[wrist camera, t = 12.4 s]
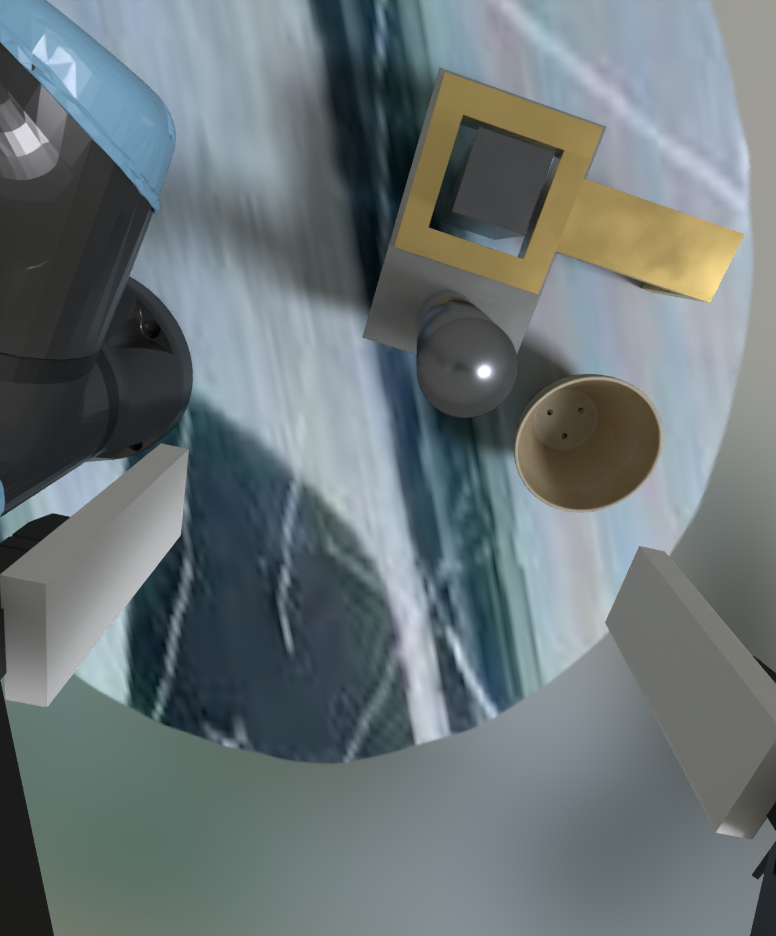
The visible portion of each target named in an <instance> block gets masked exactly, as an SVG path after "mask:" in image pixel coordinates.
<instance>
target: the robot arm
mask: <svg viewBox="0 0 776 936" xmlns="http://www.w3.org/2000/svg"><path fill="white" fill-rule="evenodd" d="M175 141H176V132H175V126H174V123H173V120H172V117H171V114H170V112H169V111H168V109H167V107H166V105H165V104H164V102H163V101H162V100H161V98H160V97H159V96H158V95H157V94H156V93H155V92H154V91H153V90H152V89H151V88H150V87H149V86H148V85H147V84H146V83H145V82H144V81H143V80H142V79H140V78H139V77H138V76H137V75H136V74H135V73H134V72H133V71H131V70H130V69H129V68H128V67H127V66H126V65H124V64H123V63H122V62H121V61H120V60H119V59H117V58H116V57H115V56H114V55H113V54H112V53H110V52H109V51H108V50H107V49H106V48H104V47H103V46H102V45H101V44H100V43H98V42H97V41H96V40H95V39H94V38H92V37H91V36H90V35H89V34H87V33H86V32H85V31H84V30H83V29H81V28H80V27H79V26H78V25H76V24H75V23H74V22H73V21H71V20H70V19H69V18H68V17H66V16H65V15H64V14H63V13H61V12H60V11H59V10H58V9H56V8H55V7H54V6H53V5H51V4H50V3H49V2H48V1H46V0H0V517H2V516H3V515H5V514H6V513H8V512H9V511H11V510H12V509H14V508H16V507H17V506H19V505H20V504H22V503H23V502H25V501H26V500H28V499H29V498H31V497H32V496H34V495H36V494H37V493H39V492H40V491H42V490H43V489H45V488H46V487H48V486H49V485H51V484H52V483H54V482H55V481H57V480H59V479H60V478H62V477H63V476H65V475H66V474H68V473H69V472H71V471H72V470H74V469H75V468H77V467H78V466H80V465H82V464H83V463H84V462H91V461H103V460H115V459H121V458H125V457H129V456H132V455H135V454H138V453H140V452H142V451H144V450H146V449H148V448H149V447H151V446H152V445H154V444H155V443H157V442H158V441H159V440H161V439H162V438H163V437H165V436H166V435H167V434H168V433H169V432H171V431H172V430H173V428H174V427H175V426H176V425H177V424H178V422H179V421H180V419H181V418H182V416H183V414H184V412H185V410H186V408H187V405H188V403H189V399H190V395H191V390H192V381H193V371H192V362H191V356H190V352H189V348H188V345H187V342H186V340H185V337H184V335H183V333H182V331H181V328H180V327H179V325H178V323H177V321H176V320H175V318H174V317H173V315H172V314H171V312H170V311H169V310H168V309H167V307H166V306H165V305H164V304H163V303H162V302H161V301H160V299H159V298H158V297H157V296H155V295H154V294H153V293H152V292H151V291H150V290H149V289H147V288H146V287H145V286H143V285H142V284H141V283H139V282H138V281H136V280H134V279H133V278H131V277H129V275H130V273H131V270H132V268H133V265H134V262H135V260H136V257H137V254H138V252H139V249H140V247H141V244H142V241H143V239H144V236H145V233H146V231H147V228H148V226H149V223H150V220H151V218H152V215H153V213H156V214H158V212H159V209H160V205H161V203H160V201H159V195H160V192H161V189H162V186H163V183H164V180H165V177H166V174H167V171H168V168H169V164H170V161H171V158H172V155H173V152H174V148H175ZM188 451H189V449H184V448H179V447H175V446H170V445H165V444H160V445H159V446H158V447H156V448H155V449H154V450H153V451H151V452H150V453H149V454H148V455H146V456H145V457H144V458H143V459H142V460H140V461H139V462H138V463H137V464H135V465H134V466H133V467H132V468H130V469H129V470H128V471H127V472H126V473H124V474H123V475H122V476H121V477H119V478H118V479H117V480H116V481H114V482H113V483H112V484H111V485H110V486H108V487H107V488H106V489H105V490H103V491H102V492H101V493H100V494H98V495H97V496H96V497H95V498H94V499H92V500H91V501H90V502H89V503H87V504H86V505H85V506H84V507H82V508H81V509H80V510H79V511H78V512H76V513H75V514H74V515H73V516H71V517H68V516H63V515H58V514H53V513H52V514H50V515H47V516H44V517H41V518H39V519H36V520H33V521H31V522H29V523H27V524H26V525H24V526H23V527H22V528H20V529H19V530H18V531H16V532H15V533H14V534H13V535H12V537H8V538H7V539H5V540H4V541H3V542H1V543H0V680H1V678H2V677H3V676H4V677H5V678H4V680H5V699H6V700H12V701H17V702H22V703H28V704H33V705H38V706H44V707H48V705H49V704H50V703H51V702H52V700H53V699H54V698H55V696H56V695H57V694H58V693H59V691H60V690H61V689H62V687H63V686H64V685H65V683H66V682H67V681H68V680H69V678H70V677H71V676H72V675H73V673H74V672H75V671H76V669H77V668H78V667H79V666H80V664H81V663H82V662H83V660H84V659H85V658H86V656H87V655H88V654H89V653H90V651H91V650H92V649H93V647H94V646H95V645H96V644H97V642H98V641H99V640H100V638H101V637H102V636H103V635H104V633H105V632H106V631H107V629H108V628H109V627H110V626H111V624H112V623H113V622H114V620H115V619H116V618H117V617H118V615H119V614H120V613H121V611H122V610H123V609H124V608H125V606H126V605H127V604H128V602H129V601H130V600H131V598H132V597H133V596H134V595H135V593H136V592H137V591H138V589H139V588H140V587H141V586H142V584H143V583H144V582H145V580H146V579H147V578H148V577H149V575H150V574H151V573H152V571H153V570H154V569H155V568H156V566H157V565H158V564H159V562H160V561H161V560H162V559H163V557H164V556H165V555H166V553H167V552H168V551H169V550H170V548H171V547H172V546H173V544H174V543H175V542H176V540H177V539H178V538H179V537H180V535H181V526H182V516H183V505H184V494H185V483H186V473H187V462H188ZM605 623H606V625H607V627H608V629H609V631H610V633H611V634H612V636H613V638H614V640H615V642H616V644H617V646H618V648H619V649H620V651H621V653H622V655H623V657H624V659H625V661H626V663H627V665H628V667H629V669H630V670H631V672H632V674H633V676H634V678H635V680H636V682H637V684H638V685H639V687H640V689H641V691H642V693H643V695H644V697H645V699H646V701H647V703H648V705H649V706H650V708H651V710H652V712H653V714H654V716H655V718H656V720H657V722H658V724H659V726H660V727H661V729H662V731H663V733H664V735H665V737H666V739H667V741H668V743H669V745H670V746H671V748H672V750H673V752H674V754H675V756H676V758H677V760H678V762H679V763H680V765H681V767H682V769H683V771H684V773H685V775H686V777H687V778H688V780H689V782H690V784H691V786H692V788H693V790H694V792H695V794H696V795H697V798H698V800H699V801H700V803H701V805H702V807H703V809H704V811H705V812H706V815H707V817H708V818H709V820H710V822H711V824H712V826H713V828H714V830H715V832H716V833H721V834H726V835H732V836H737V837H743V838H748V839H753V838H754V836H755V835H756V833H757V832H758V830H759V829H760V827H761V826H762V825H763V823H764V821H765V820H766V819H767V818H768V819H769V821H770V822H771V824H772V826H773V827H774V829H775V830H776V673H775V672H774V671H772V670H771V669H770V668H768V667H767V666H766V665H765V664H764V663H762V662H761V661H760V660H759V659H757V658H756V657H755V656H752V655H751V654H750V653H749V651H748V650H747V649H746V648H745V647H744V645H743V644H742V643H741V642H740V641H739V639H738V638H737V637H736V636H735V635H734V634H733V632H732V631H731V630H730V629H729V628H728V626H727V625H726V624H725V623H724V622H723V621H722V619H721V618H720V617H719V616H718V615H717V613H716V612H715V611H714V610H713V609H712V607H711V606H710V605H709V604H708V603H707V601H706V600H705V599H704V598H703V597H702V596H701V594H700V593H699V592H698V591H697V590H696V588H695V587H694V586H693V585H692V584H691V582H690V581H689V580H688V579H687V578H686V576H685V575H684V574H683V573H682V572H681V571H680V569H679V568H678V567H677V566H676V565H675V564H674V562H673V561H672V560H671V559H670V557H669V556H668V555H667V554H666V553H665V552H664V551H660V550H655V549H651V548H646V547H641V546H639V548H638V550H637V552H636V555H635V557H634V559H633V561H632V564H631V566H630V568H629V570H628V573H627V575H626V577H625V579H624V582H623V584H622V586H621V588H620V591H619V593H618V595H617V597H616V600H615V602H614V604H613V606H612V609H611V611H610V613H609V615H608V617H607V620H606V622H605ZM762 874H764V877H763V881H762V886H761V890H760V895H759V899H758V903H757V908H756V912H755V917H754V921H753V925H752V930H751V934H750V936H776V842H775V843H774V845H773V846H772V847H771V849H770V850H769V851H768V853H767V854H766V856H765V857H764V859H763V860H762V862H761V863H760V864H759V866H758V867H757V868H756V870H755V871H754V873H753V874H752V876H754V877H755V878H757V879H759V878H760V877H761V876H762ZM0 936H54V934H53V929H52V924H51V919H50V915H49V910H48V905H47V901H46V895H45V891H44V886H43V881H42V876H41V872H40V867H39V862H38V857H37V853H36V848H35V843H34V838H33V834H32V829H31V824H30V819H29V815H28V810H27V805H26V800H25V796H24V791H23V786H22V781H21V777H20V772H19V767H18V762H17V758H16V753H15V748H14V743H13V739H12V734H11V729H10V724H9V719H8V715H7V710H6V705H5V700H4V696H3V691H2V686H1V681H0Z"/></svg>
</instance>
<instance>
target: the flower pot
mask: <svg viewBox="0 0 776 936" xmlns="http://www.w3.org/2000/svg"><path fill="white" fill-rule="evenodd" d="M579 408H581V409H580V410H578V409H579ZM548 412H550V413H551V415H548V414H547V413H548ZM565 434H567V437H565ZM662 444H663V429H662V424H661V420H660V417H659V414H658V412H657V410H656V408H655V406H654V404H653V403H652V402H651V400H650V399H649V398H648V397H647V396H646V395H645V394H644V393H643V392H642V391H641V390H639V389H638V388H636V387H635V386H633V385H631V384H629V383H627V382H625V381H623V380H620V379H617V378H614V377H610V376H604V375H597V374H582V375H574V376H569V377H566V378H562V379H560V380H557V381H555V382H553V383H551V384H549V385H547V386H546V387H544V388H543V389H542V390H540V391H539V392H538V393H537V394H536V395H535V396H534V397H533V398H532V399H531V400H530V401H529V403H528V404H527V405H526V407H525V409H524V410H523V412H522V414H521V416H520V419H519V422H518V425H517V428H516V433H515V440H514V455H515V463H516V467H517V470H518V473H519V475H520V477H521V479H522V481H523V483H524V484H525V486H526V487H527V488H528V490H529V491H530V492H531V493H532V494H533V495H534V496H535V497H537V498H538V499H539V500H540V501H542V502H544V503H545V504H547V505H549V506H551V507H554V508H557V509H560V510H564V511H569V512H593V511H598V510H602V509H605V508H608V507H611V506H613V505H616V504H618V503H620V502H622V501H623V500H625V499H627V498H628V497H630V496H631V495H632V494H634V493H635V492H636V491H637V490H638V489H639V488H640V487H641V486H642V485H643V484H644V483H645V482H646V481H647V479H648V478H649V477H650V475H651V474H652V472H653V470H654V469H655V467H656V465H657V462H658V460H659V457H660V454H661V450H662Z"/></svg>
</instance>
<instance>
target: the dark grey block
mask: <svg viewBox="0 0 776 936" xmlns="http://www.w3.org/2000/svg"><path fill="white" fill-rule="evenodd" d="M553 156H554V153H553V152H551V151H548V150H545V149H542V148H539V147H536V146H533V145H530V144H528V143H525V142H522V141H519V140H516V139H513V138H510V137H508V136H505V135H502V134H499V133H496V132H493V131H490V130H487V129H485V128H482V127H479V129H478V130H477V132H476V134H475V136H474V138H473V140H472V142H471V144H470V146H469V148H468V150H467V152H466V154H465V156H464V158H463V160H462V162H461V165H460V168H459V171H458V174H457V177H456V180H455V184H454V187H453V190H452V193H451V196H450V200H449V203H448V206H447V209H446V212H445V215H444V219H443V222H444V223H447V224H450V225H453V226H456V227H459V228H462V229H465V230H468V231H471V232H474V233H477V234H480V235H482V236H485V237H488V238H491V239H494V240H495V239H502V238H509V237H516V236H523V235H525V232H526V229H527V227H528V224H529V221H530V219H531V216H532V213H533V210H534V208H535V205H536V202H537V200H538V197H539V194H540V191H541V189H542V186H543V183H544V180H545V178H546V175H547V172H548V170H549V167H550V164H551V161H552V159H553Z"/></svg>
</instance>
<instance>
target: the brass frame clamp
mask: <svg viewBox="0 0 776 936" xmlns="http://www.w3.org/2000/svg"><path fill="white" fill-rule="evenodd" d="M460 124H462V125H465V126H468V127H471V128H473V129H476V130H478V129H479V127H482V128H485V129H487V130H490V131H493V132H496V133H499V134H502V135H505V136H508V137H510V138H513V139H516V140H519V141H522V142H525V143H528V144H530V145H533V146H536V147H539V148H542V149H545V150H548V151H551V152H553V153H554V160H553V162H552V165H551V168H550V170H549V173H548V176H547V179H546V181H545V184H544V187H543V189H542V192H541V195H540V198H539V200H538V203H537V206H536V208H535V211H534V214H533V217H532V219H531V222H530V225H529V227H528V230H527V233H526V236H525V238H524V241H523V244H522V246H521V249H520V252H519V255H518V257H515V256H512V255H509V254H506V253H503V252H500V251H497V250H494V249H491V248H488V247H485V246H482V245H479V244H476V243H473V242H470V241H467V240H464V239H461V238H458V237H455V236H452V235H449V234H446V233H443V232H440V231H437V230H434V229H431V228H428V227H429V224H430V220H431V217H432V214H433V211H434V207H435V204H436V201H437V198H438V194H439V191H440V188H441V185H442V181H443V178H444V175H445V172H446V168H447V165H448V162H449V159H450V155H451V152H452V149H453V146H454V142H455V139H456V136H457V133H458V129H459V126H460ZM605 129H606V127H605V126H602V125H600V124H597V123H594V122H591V121H588V120H586V119H583V118H580V117H577V116H574V115H571V114H569V113H566V112H563V111H560V110H557V109H555V108H552V107H549V106H546V105H543V104H541V103H538V102H535V101H532V100H529V99H526V98H524V97H521V96H518V95H515V94H512V93H510V92H507V91H504V90H501V89H498V88H495V87H493V86H490V85H487V84H484V83H481V82H479V81H476V80H473V79H470V78H467V77H464V76H462V75H459V74H456V73H453V72H450V71H448V70H445V69H442V68H439V72H438V75H437V79H436V82H435V86H434V89H433V93H432V96H431V100H430V103H429V107H428V110H427V114H426V117H425V121H424V124H423V128H422V131H421V135H420V138H419V142H418V145H417V149H416V152H415V156H414V159H413V163H412V166H411V169H410V173H409V176H408V180H407V183H406V187H405V190H404V194H403V197H402V201H401V204H400V208H399V211H398V215H397V218H396V222H395V225H394V229H393V232H392V236H391V239H390V243H389V246H388V250H387V253H386V257H385V260H384V264H383V267H382V271H381V274H380V278H379V281H378V285H377V288H376V292H375V295H374V299H373V302H372V306H371V309H370V313H369V316H368V320H367V323H366V327H365V330H364V334H363V338H366V339H369V340H372V341H376V342H379V343H382V344H385V345H388V346H391V347H394V348H398V349H401V350H404V351H407V352H410V353H413V354H416V355H417V378H418V382H419V386H420V388H421V390H422V392H423V394H424V396H425V397H426V399H427V400H428V401H429V402H430V403H431V404H432V405H433V406H434V407H435V408H437V409H438V410H440V411H441V412H443V413H445V414H448V415H451V416H455V417H462V418H470V417H476V416H480V415H483V414H486V413H488V412H490V411H492V410H493V409H495V408H496V407H498V406H499V405H500V404H501V403H502V402H503V401H504V400H505V399H506V398H507V396H508V395H509V394H510V392H511V390H512V388H513V386H514V384H515V381H516V378H517V373H518V358H517V353H518V351H519V348H520V346H521V343H522V341H523V338H524V335H525V333H526V330H527V328H528V325H529V323H530V320H531V318H532V315H533V312H534V310H535V307H536V305H537V302H538V300H539V297H540V295H541V292H542V290H543V287H544V284H545V282H546V279H547V277H548V274H549V272H550V269H551V267H552V264H553V261H554V259H555V256H556V254H557V253H559V254H562V255H565V256H568V257H571V258H574V259H577V260H580V261H583V262H586V263H589V264H592V265H595V266H598V267H601V268H604V269H607V270H610V271H613V272H615V273H618V274H621V275H624V276H627V277H630V278H633V279H636V280H639V281H642V282H643V285H642V287H641V288H642V289H645V290H648V291H651V292H654V293H657V294H663V295H669V296H674V297H680V298H686V299H691V300H697V301H702V302H708V303H710V302H711V300H712V298H713V296H714V294H715V292H716V290H717V288H718V286H719V284H720V282H721V280H722V278H723V276H724V274H725V272H726V270H727V268H728V266H729V264H730V262H731V260H732V258H733V256H734V254H735V252H736V250H737V248H738V246H739V244H740V242H741V240H742V238H743V236H744V234H742V233H739V232H736V231H733V230H730V229H727V228H725V227H722V226H719V225H716V224H713V223H710V222H707V221H704V220H702V219H699V218H696V217H693V216H690V215H687V214H684V213H681V212H679V211H676V210H673V209H670V208H667V207H664V206H661V205H658V204H655V203H653V202H650V201H647V200H644V199H641V198H638V197H635V196H632V195H630V194H627V193H624V192H621V191H618V190H615V189H612V188H609V187H607V186H604V185H601V184H598V183H595V182H592V181H589V180H586V177H587V175H588V172H589V170H590V167H591V165H592V162H593V160H594V157H595V154H596V152H597V149H598V147H599V144H600V142H601V139H602V137H603V134H604V131H605Z"/></svg>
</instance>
